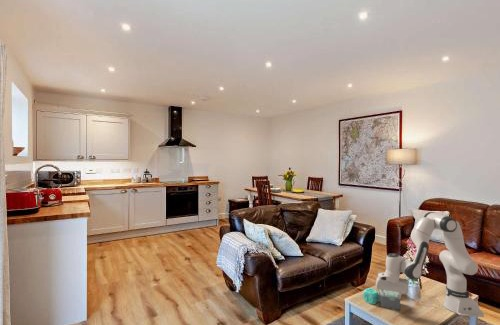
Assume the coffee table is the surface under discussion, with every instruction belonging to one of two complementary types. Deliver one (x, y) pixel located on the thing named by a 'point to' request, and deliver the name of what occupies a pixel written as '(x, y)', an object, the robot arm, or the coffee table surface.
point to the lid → (390, 294)
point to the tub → (389, 302)
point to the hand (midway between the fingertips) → (391, 296)
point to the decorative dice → (370, 296)
